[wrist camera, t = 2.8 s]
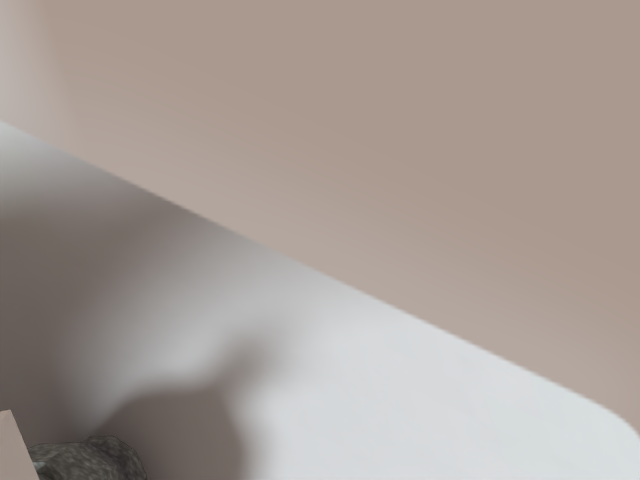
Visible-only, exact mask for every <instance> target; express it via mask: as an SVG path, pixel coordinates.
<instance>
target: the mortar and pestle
mask: <svg viewBox="0 0 640 480" xmlns="http://www.w3.org/2000/svg"><path fill="white" fill-rule="evenodd" d="M27 451H28V453H29V456H30V458H31V460H32V463H33V465H34V468H35V470H36V473H37V475H38V477H39V480H146V477H147V475H146V473H145V471H144V469H143V466H142V464H141V462H140V460H139V458H138V456H137V454H136V452H135V450H133V449H132V448H130V447H129V446H127V445H126V444H124V443H123V442H121V441H120V440H118V439H117V438H115V437H114V436H99V437H89V438H88V439H87V440H85V441H84V442H83V443H58V444H39V445H36V446H34V447H31V448H29V449H27Z"/></svg>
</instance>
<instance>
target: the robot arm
mask: <svg viewBox="0 0 640 480" xmlns="http://www.w3.org/2000/svg"><path fill="white" fill-rule="evenodd" d="M0 480H39V477H38V475H37V473H36V470H35V468H34V465H33V463H32V460H31V458H30V456H29V453H28V451H27V448H26V446H25V443H24V441H23V438H22V436H21V434H20V431H19V429H18V426H17V424H16V421H15V419H14V417H13V414H12V412H11V409H10V410H5V411H0Z"/></svg>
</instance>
